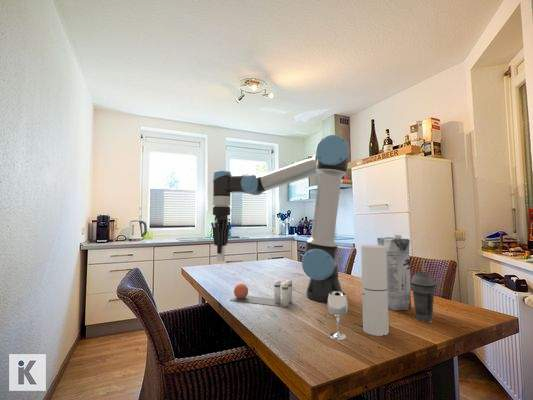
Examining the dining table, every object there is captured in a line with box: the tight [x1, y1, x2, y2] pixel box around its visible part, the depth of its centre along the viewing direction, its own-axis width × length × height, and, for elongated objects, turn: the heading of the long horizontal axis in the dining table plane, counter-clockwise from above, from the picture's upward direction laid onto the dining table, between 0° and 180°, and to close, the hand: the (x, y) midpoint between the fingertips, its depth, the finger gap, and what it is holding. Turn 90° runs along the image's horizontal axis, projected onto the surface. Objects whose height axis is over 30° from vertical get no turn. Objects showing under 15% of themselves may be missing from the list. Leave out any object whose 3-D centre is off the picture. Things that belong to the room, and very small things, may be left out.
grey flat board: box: [230, 295, 292, 308], centre depth 112 cm, size 24×8×1 cm, turn 69°
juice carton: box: [376, 234, 412, 312], centre depth 105 cm, size 9×10×27 cm
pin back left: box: [281, 282, 289, 308], centre depth 106 cm, size 2×2×8 cm
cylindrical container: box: [360, 244, 390, 337], centre depth 83 cm, size 7×7×25 cm
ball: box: [233, 283, 249, 299], centre depth 115 cm, size 6×6×6 cm
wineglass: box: [326, 291, 349, 341], centre depth 79 cm, size 6×6×12 cm
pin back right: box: [285, 279, 293, 304], centre depth 111 cm, size 2×2×8 cm
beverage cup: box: [410, 258, 437, 323], centre depth 92 cm, size 7×7×20 cm
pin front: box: [273, 279, 282, 303], centre depth 110 cm, size 2×2×8 cm
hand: (220, 260), depth 119 cm, fingers closed
